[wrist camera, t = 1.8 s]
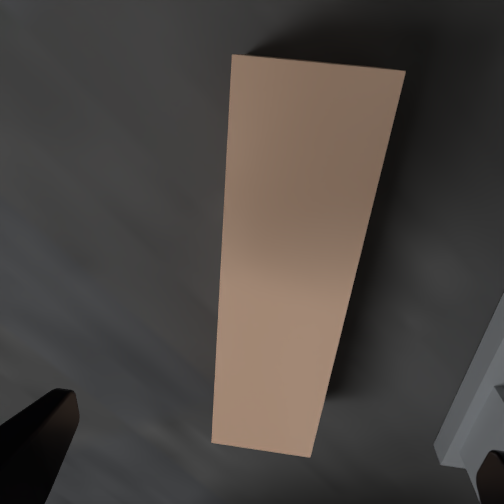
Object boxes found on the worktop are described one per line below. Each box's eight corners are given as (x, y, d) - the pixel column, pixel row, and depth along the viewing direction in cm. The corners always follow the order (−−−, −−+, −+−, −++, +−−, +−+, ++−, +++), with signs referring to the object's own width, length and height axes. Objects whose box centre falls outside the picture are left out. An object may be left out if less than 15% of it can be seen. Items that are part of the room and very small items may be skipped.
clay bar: (224, 385, 18) (211, 442, 15) (247, 54, 12) (232, 54, 9) (308, 397, 18) (310, 457, 15) (380, 67, 11) (405, 71, 9)
